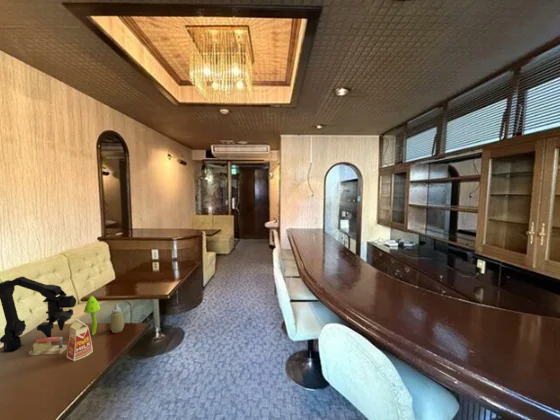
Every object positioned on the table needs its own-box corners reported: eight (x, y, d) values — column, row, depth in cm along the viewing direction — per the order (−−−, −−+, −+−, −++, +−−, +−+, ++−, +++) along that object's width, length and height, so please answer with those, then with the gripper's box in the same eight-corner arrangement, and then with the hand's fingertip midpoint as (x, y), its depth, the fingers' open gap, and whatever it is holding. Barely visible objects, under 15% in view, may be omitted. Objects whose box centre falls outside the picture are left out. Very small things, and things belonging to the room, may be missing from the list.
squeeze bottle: (127, 328, 174) (126, 301, 173) (118, 334, 166) (117, 306, 165) (116, 327, 175) (115, 301, 174) (107, 333, 167) (105, 306, 166)
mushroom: (81, 337, 162) (79, 298, 161) (92, 330, 170) (90, 293, 169) (95, 338, 162) (93, 298, 160) (104, 331, 170) (102, 293, 169)
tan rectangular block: (33, 351, 145) (33, 344, 145) (40, 346, 149) (39, 339, 149) (45, 350, 146) (44, 343, 145) (51, 346, 150) (51, 339, 150)
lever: (36, 342, 146) (35, 339, 146) (38, 340, 148) (38, 337, 148) (60, 341, 147) (60, 338, 147) (63, 339, 149) (63, 336, 149)
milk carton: (66, 357, 143) (64, 321, 142) (85, 348, 151) (83, 314, 150) (75, 362, 139) (73, 325, 137) (94, 352, 147) (92, 317, 146)
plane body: (28, 355, 145) (28, 344, 144) (36, 350, 150) (35, 339, 149) (60, 353, 146) (59, 342, 146) (67, 348, 151) (66, 337, 151)
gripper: (57, 314, 144) (58, 342, 145) (79, 301, 163) (80, 325, 164) (35, 315, 143) (36, 343, 144) (60, 302, 162) (61, 326, 163)
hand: (55, 334), depth 154 cm, fingers open, 9 cm apart
